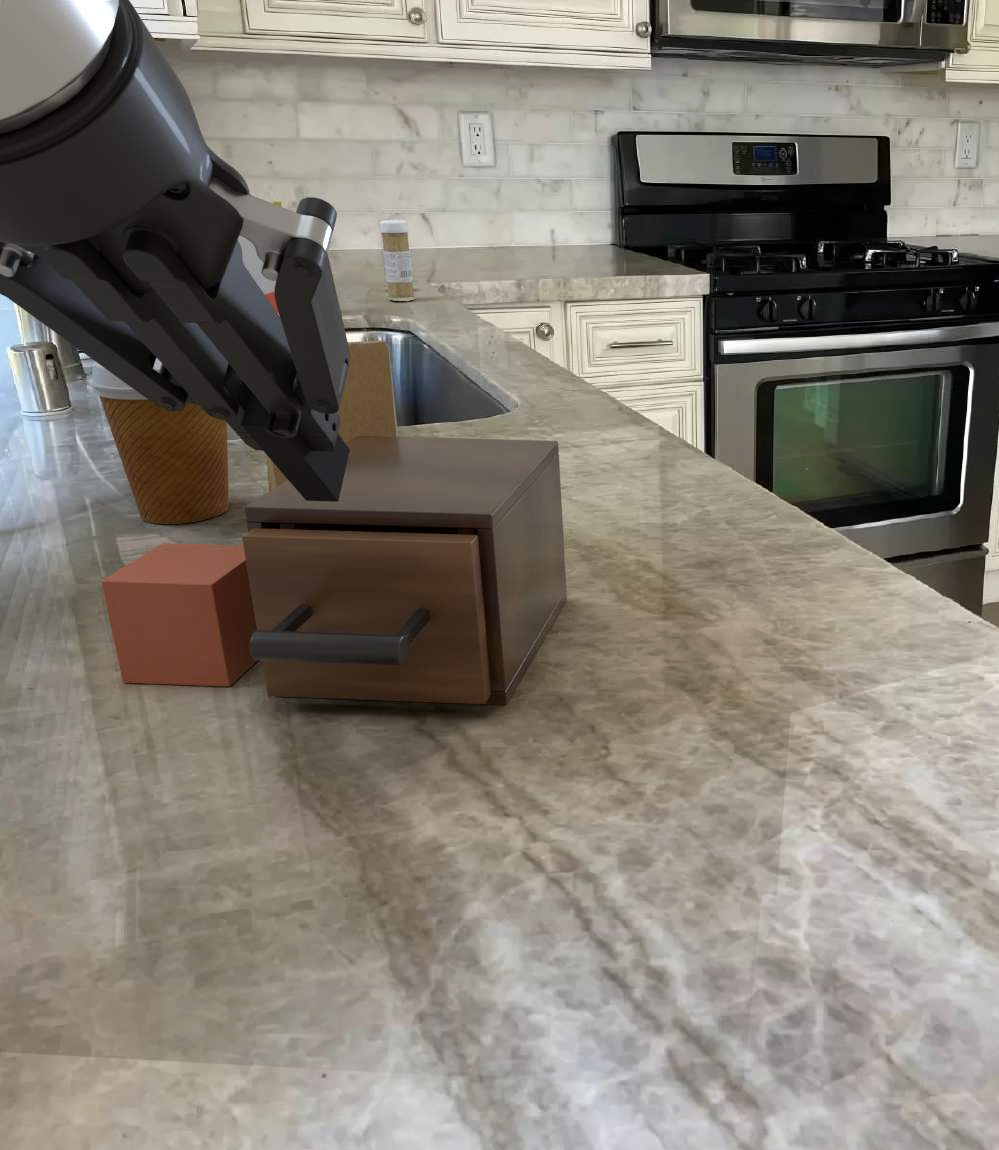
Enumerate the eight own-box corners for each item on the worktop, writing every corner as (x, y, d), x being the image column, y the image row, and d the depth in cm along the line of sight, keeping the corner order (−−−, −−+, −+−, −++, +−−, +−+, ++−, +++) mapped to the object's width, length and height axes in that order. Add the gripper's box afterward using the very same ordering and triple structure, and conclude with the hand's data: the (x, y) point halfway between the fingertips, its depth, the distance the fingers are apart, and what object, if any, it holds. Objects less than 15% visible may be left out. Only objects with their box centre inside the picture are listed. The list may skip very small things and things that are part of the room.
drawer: (455, 753, 54) (438, 579, 51) (220, 743, 55) (188, 571, 51) (547, 603, 71) (538, 466, 68) (367, 597, 72) (350, 461, 68)
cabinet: (506, 705, 60) (491, 514, 57) (273, 696, 61) (243, 507, 57) (567, 600, 74) (558, 440, 70) (376, 593, 75) (356, 435, 71)
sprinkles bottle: (409, 298, 203) (401, 219, 198) (419, 301, 200) (411, 220, 195) (384, 300, 201) (375, 220, 196) (393, 303, 197) (385, 221, 192)
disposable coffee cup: (239, 488, 96) (216, 344, 92) (261, 518, 88) (237, 363, 84) (111, 505, 91) (80, 354, 87) (123, 539, 84) (90, 376, 79)
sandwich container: (378, 491, 95) (357, 309, 90) (412, 548, 83) (390, 339, 77) (267, 504, 92) (238, 315, 86) (285, 566, 79) (252, 348, 74)
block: (122, 683, 62) (100, 580, 60) (181, 637, 68) (162, 542, 66) (229, 687, 62) (211, 584, 60) (279, 641, 68) (264, 545, 65)
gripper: (-302, 150, 29) (168, 545, 51) (191, 156, 29) (456, 553, 50) (-189, -52, 32) (209, 401, 54) (259, -50, 32) (481, 408, 53)
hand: (328, 474), depth 52 cm, fingers closed
